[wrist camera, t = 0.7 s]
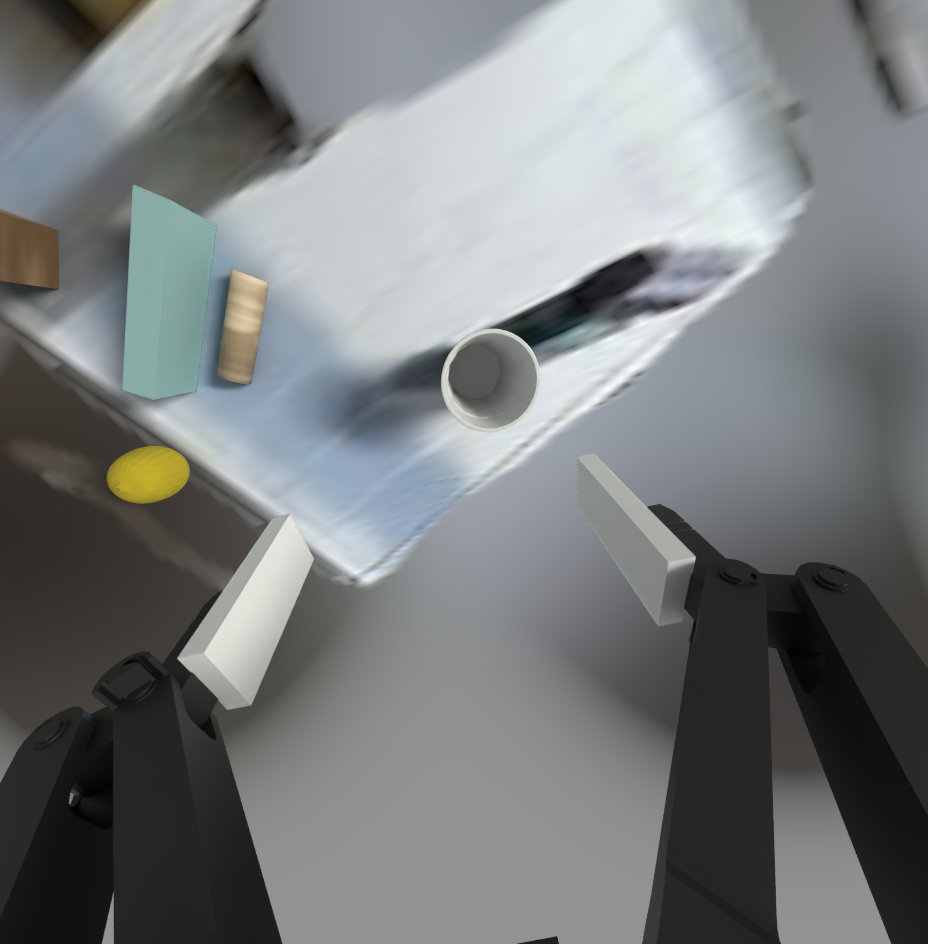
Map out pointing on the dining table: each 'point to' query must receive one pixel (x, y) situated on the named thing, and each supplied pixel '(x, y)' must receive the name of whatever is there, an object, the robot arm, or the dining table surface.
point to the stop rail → (165, 296)
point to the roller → (241, 327)
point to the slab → (28, 252)
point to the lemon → (148, 474)
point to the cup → (490, 380)
